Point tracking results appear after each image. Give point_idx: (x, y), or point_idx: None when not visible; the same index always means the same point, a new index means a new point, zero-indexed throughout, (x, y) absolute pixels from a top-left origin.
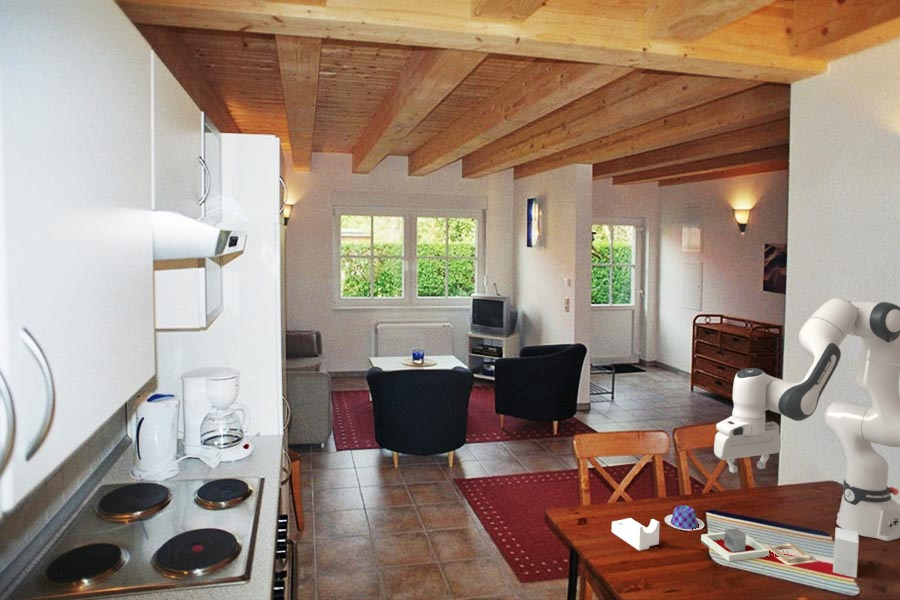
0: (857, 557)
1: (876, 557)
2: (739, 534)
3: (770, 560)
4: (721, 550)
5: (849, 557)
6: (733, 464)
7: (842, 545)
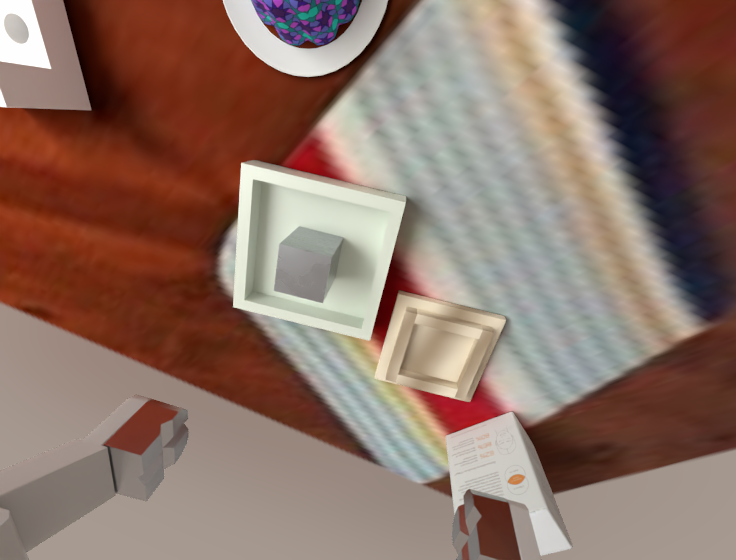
0: None
1: (646, 445)
2: (301, 293)
3: None
4: (236, 273)
5: None
6: (60, 526)
7: None
